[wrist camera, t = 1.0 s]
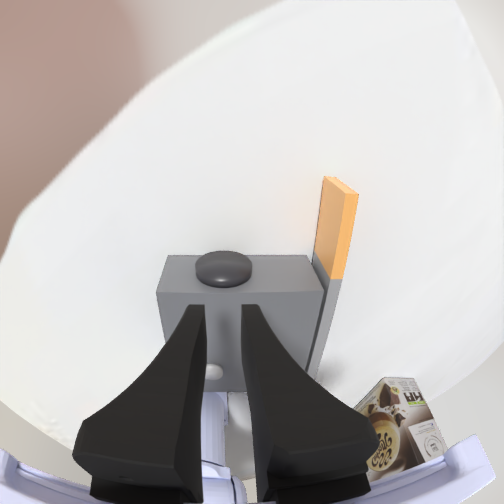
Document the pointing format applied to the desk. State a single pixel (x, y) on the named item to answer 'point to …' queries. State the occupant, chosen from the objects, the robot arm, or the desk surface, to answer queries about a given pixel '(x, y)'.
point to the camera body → (229, 305)
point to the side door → (331, 257)
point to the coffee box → (400, 428)
